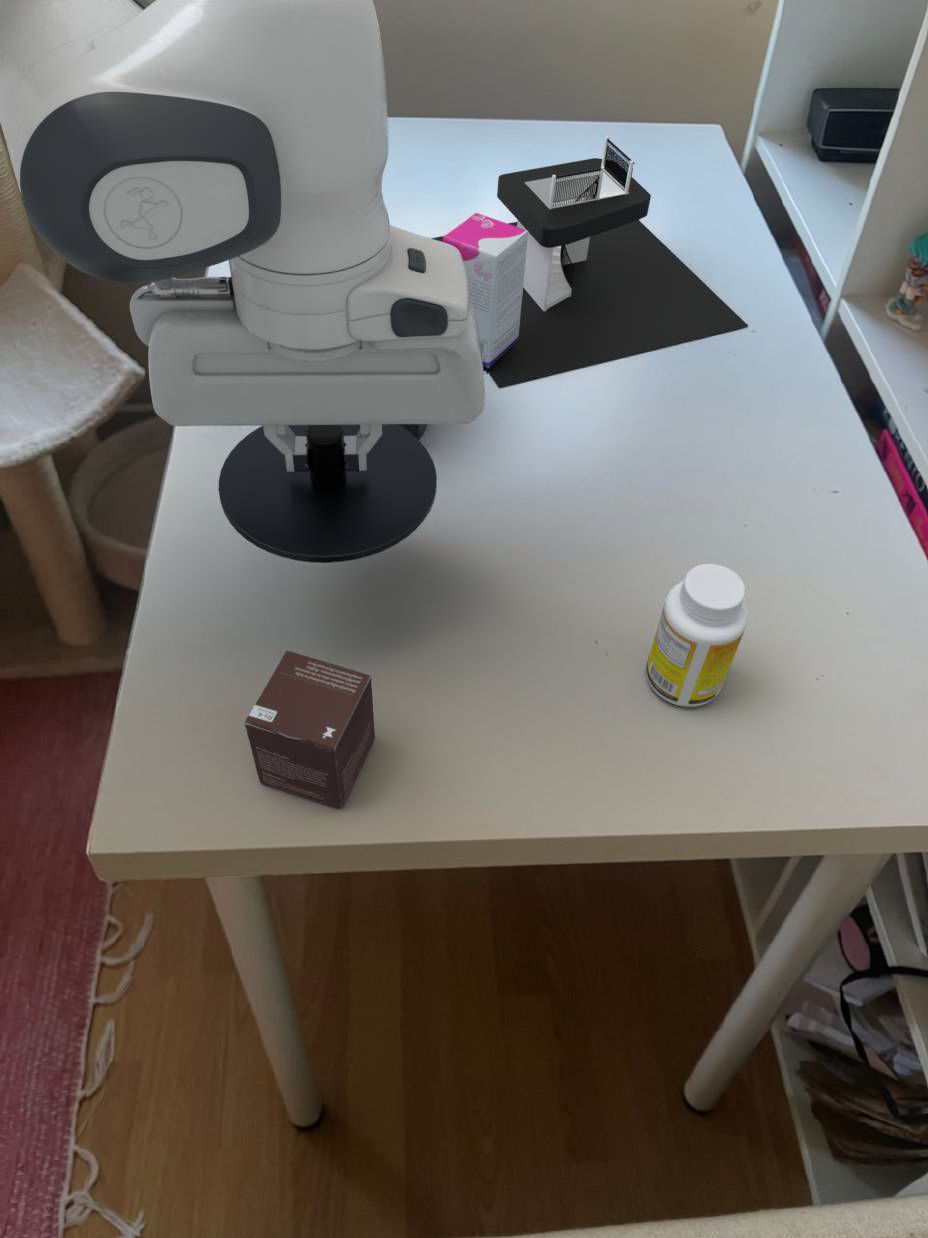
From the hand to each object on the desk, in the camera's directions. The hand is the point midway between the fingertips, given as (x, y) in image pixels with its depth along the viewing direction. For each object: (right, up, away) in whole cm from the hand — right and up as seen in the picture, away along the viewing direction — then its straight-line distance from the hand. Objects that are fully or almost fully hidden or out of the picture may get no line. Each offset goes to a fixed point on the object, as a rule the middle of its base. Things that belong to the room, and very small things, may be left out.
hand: (327, 465), depth 67 cm
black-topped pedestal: (+20, +25, +38) cm, 50 cm away
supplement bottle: (+25, -15, +6) cm, 29 cm away
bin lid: (0, -1, +1) cm, 2 cm away
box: (-1, -20, 0) cm, 20 cm away
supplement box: (+10, +16, +30) cm, 36 cm away
